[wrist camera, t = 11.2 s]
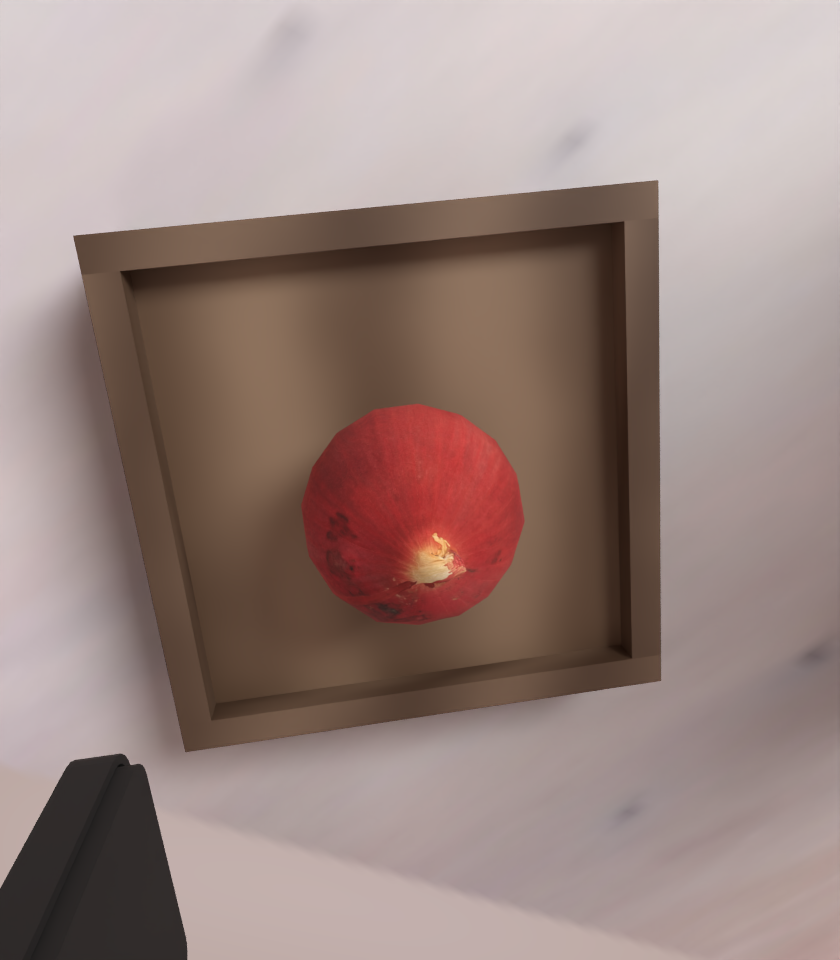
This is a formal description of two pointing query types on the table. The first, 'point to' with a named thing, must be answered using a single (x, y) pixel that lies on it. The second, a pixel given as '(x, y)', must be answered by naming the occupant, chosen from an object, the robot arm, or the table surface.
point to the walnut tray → (374, 385)
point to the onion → (412, 514)
